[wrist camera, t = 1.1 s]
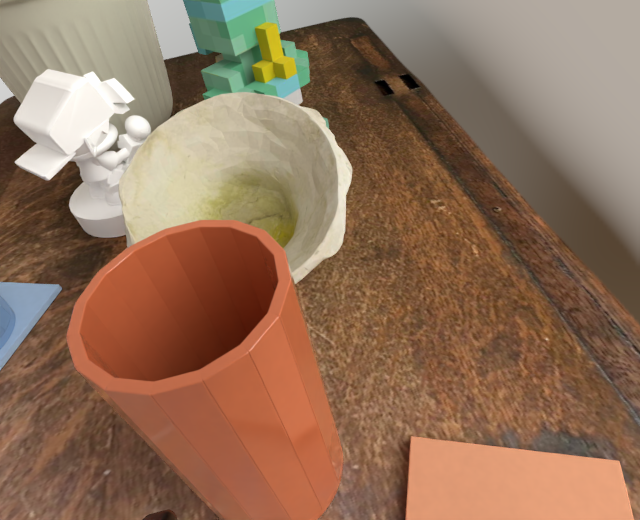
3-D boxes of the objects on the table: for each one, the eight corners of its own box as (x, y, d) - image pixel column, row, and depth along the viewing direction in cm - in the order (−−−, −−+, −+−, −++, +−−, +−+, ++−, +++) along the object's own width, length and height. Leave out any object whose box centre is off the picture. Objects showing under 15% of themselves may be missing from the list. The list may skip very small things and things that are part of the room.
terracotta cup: (329, 553, 20) (250, 406, 11) (187, 527, 22) (19, 380, 13) (352, 407, 25) (310, 219, 16) (234, 394, 26) (134, 218, 17)
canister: (39, 200, 45) (-145, -54, 31) (42, 127, 58) (-87, -77, 43) (215, 137, 49) (125, -118, 34) (181, 81, 61) (105, -122, 47)
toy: (264, 186, 41) (208, -1, 30) (198, 156, 46) (133, -10, 36) (338, 133, 45) (312, -46, 35) (270, 111, 51) (230, -48, 40)
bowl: (140, 356, 29) (52, 240, 22) (177, 217, 39) (124, 107, 32) (376, 322, 28) (359, 189, 21) (351, 188, 38) (335, 68, 31)
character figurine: (193, 192, 42) (135, 58, 33) (106, 258, 37) (14, 121, 29) (136, 170, 46) (72, 47, 38) (52, 226, 41) (-42, 100, 33)
